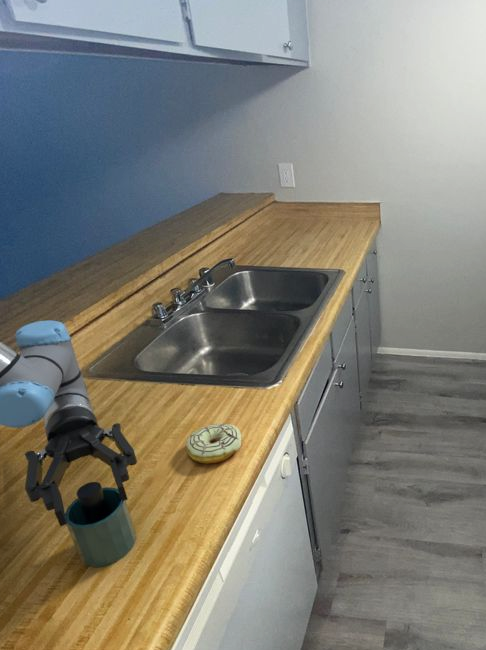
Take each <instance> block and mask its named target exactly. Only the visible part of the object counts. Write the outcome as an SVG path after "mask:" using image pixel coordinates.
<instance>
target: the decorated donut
mask: <svg viewBox="0 0 486 650" xmlns="http://www.w3.org/2000/svg"><path fill="white" fill-rule="evenodd" d="M242 437H243V436H242V433H241V430H240V429H239V428H238V427H237V426H236V425H233V424H230V423H229V424H228V423H212V424H209V425H205V426H203V427H200V428H199V429H197V430H195V431H193V432H192V433H191V434H190V436H188V438H187V440H186V441H185V449H186V453H187V454H188V457H190V458H191V460H193V461H195V462H197V463H199V464H200V463H201V464H204V465H207V464H216V463H220V462H223V461H226V460H227V459H229V458H230V457H231V456H232V455H233V454H234V453H236V452H237V451H239V450H240V448H241V446H242V439H243V438H242Z"/></svg>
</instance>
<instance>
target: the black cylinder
mask: <svg viewBox="0 0 486 650" xmlns="http://www.w3.org/2000/svg"><path fill="white" fill-rule="evenodd" d="M102 488H103V487H102V484H101V483H100V482H98V481H90V482H87V483H85V484H82V486H80V487H79V488H78V489H77V491H76V496H77V498H78V499H79V502H80V504H81V507H82V510H83V512H84V515H85V518H86V520H87V523H88V524H93V523H96V522H98V521H101V520H103V519H105V518H106V517H108V516H109V515H111V513H110V510H109V507H108V504H107V501H106V498H105V495H104V492H103V490H102Z"/></svg>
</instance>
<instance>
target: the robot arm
mask: <svg viewBox="0 0 486 650" xmlns="http://www.w3.org/2000/svg"><path fill="white" fill-rule="evenodd" d="M14 335H15V336H14V337H15V341H16V347H17V348H18V349H19V353H18V352H17V351H14V350H13V349H12V348H10V347H9V346H8V345H6V344H4V343H3V341H2V342H1V341H0V425H1V426H3V427H8V428H13V429H14V428H18V429H20V428H26V427H29V426H33V425H35V424H36V423H38V422H40V421H41V420H43V424H44V425H43V426H44V430H45V435H46V441H47V443H46V445H45V447H44V449H42V450H39V451H37V452H35V451H34V450H29V451H26V452H25V454H24V456H25V459H26V461H27V471H26V476H25V477H26V479H25V487H24V490H25V492H26V494H27V496H28V499H29V501H30V502H31V503H34V502H37V501H39V500H40V499H42V502H43V505H44V507H45V509H46V511H48V512H51V511H54V514H55V517H56V519H57V522H58V524H59V527H63V526H65V525H66V524H67V522H66V517H65V512H66V511H65V507H64V502H63V497H62V494H61V491H60V488H59V487H60V484H61V482H62V480H63V478H64V476H65V473H66V471H67V469H69V468H70V467H71V464H72V462H73V461H77V460H79V459H81V458H84V457H85V458H86V457H89V456H90V457H93V458H94V459H98V460H100V461H101V462H103V463H104V464H106V465H107V466H109V467H110V469H111V472H112V475H113V478H114V482H115V485H116V488H117V489H118V491H119V494H120V497H121V500H122V501H124V500H128V496H127V492H126V490H125V489H126V488H125V486H124V483H126V482H128V481H129V480H130V478H131V477H130V474H129V471H128V467H129V466H135V465H136V464H137V463H138V460H137V457H136V456H137V455H136V453H135V449H134V448H133V446H131V444H130V443H129V441H128V440H127V438H126V437H125V436H124V433H123V430H122V427H121V423H118V422H117V423H114V424H112V427H111V428H108V429H104V428H103V427H100V425H99V423H98V419H97V417H96V414H95V410H94V408H93V405H92V403H91V400H90V396H89V393H88V388H87V385H86V382H85V380H84V378H83V377H84V376H83V374H82V372H81V369H80V365H79V362H78V359H77V356H76V352H75V349H74V347H73V343H72V340H73V339H72V337H71V335H70V334H69V331H68V329H67V327H66V325H65V324H64V323H63V322H60V321H57V320H50V319H49V320H39V321H35V322H31V323H28V324H25V325H23V326H22V327H19V328H18V329H17V331H16V332H15V334H14ZM106 438H108V439H109V441H110V440H111V442H112V443H114V444H115V446H116V447H117V449H118V450H119V452H120V453H119V452H116V451H115V450H114V449H112V448H110V447H109V446H107V445H106V444H104V443H103V442H104V440H105V439H106ZM47 457H49V458H50V459H51V458H52V461H51V462H50V465H49V467H48V469H47V471H46V473H45V475H44V477H43V466H44V465H45V462H46V458H47Z"/></svg>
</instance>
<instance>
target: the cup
mask: <svg viewBox="0 0 486 650" xmlns="http://www.w3.org/2000/svg"><path fill="white" fill-rule="evenodd" d="M102 490H103V492H104V495H105V498H106V501H107V504H108V507H109V510H110V513H111V515H109V516H108V517H106V518H105V519H103V520H101V521H98V522H96V523H93V524H88V523H87V520H86V518H85V515H84V512H83V510H82V507H81V504H80V502H79V499H78V497H77V498H76V499H74V500H73V501H72V502H71V503H70V505H68V506H67V508H66V510H65V511H64V512H65V517H66V522H67V524H65V525H66V527H67V530H68V532H69V534H70V538H71V539H72V540H71V541H72V542H73V544H74V547H75V550H76V552H77V554H78V557H79V559H80V561H81V563H83V565H85V566H87V567H91V568H101V567H102V568H103V567H106V566H110V565H111V564H115V563H116V562H118V561H120V560H121V559H123V558H124V557H125V556H126V555H128V554H129V553H130V551H131V550H132V549H133V548H134V546H135V544H136V541H137V533H136V529H135V527H134V523H133V519H132V517H131V513H130V510H129V507H128V503H127V501H126V500H124V501H122V500H121V497H120V494H119V491H118V488H117V487H109V486H105V487H102Z"/></svg>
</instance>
